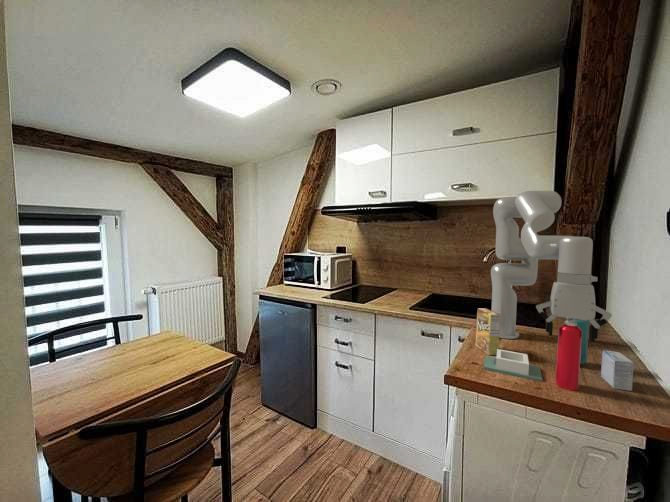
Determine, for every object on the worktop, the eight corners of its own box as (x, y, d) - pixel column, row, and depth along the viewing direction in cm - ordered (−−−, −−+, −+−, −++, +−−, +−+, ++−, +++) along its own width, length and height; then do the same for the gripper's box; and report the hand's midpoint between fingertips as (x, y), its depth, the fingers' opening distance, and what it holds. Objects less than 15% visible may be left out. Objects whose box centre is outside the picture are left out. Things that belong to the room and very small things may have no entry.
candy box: (474, 346, 118) (476, 308, 117) (484, 345, 119) (486, 307, 118) (488, 355, 109) (490, 314, 108) (499, 355, 110) (501, 314, 109)
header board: (485, 358, 107) (485, 346, 107) (539, 368, 99) (539, 356, 99) (483, 369, 98) (484, 356, 98) (542, 381, 90) (543, 367, 90)
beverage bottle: (587, 363, 103) (591, 306, 102) (586, 370, 99) (590, 310, 97) (563, 357, 108) (567, 303, 106) (561, 363, 103) (565, 306, 102)
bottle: (571, 392, 85) (576, 322, 83) (551, 383, 90) (555, 317, 88) (582, 387, 87) (587, 320, 86) (561, 379, 92) (565, 315, 91)
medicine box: (632, 392, 85) (634, 362, 85) (612, 388, 87) (614, 359, 86) (618, 379, 93) (620, 352, 92) (600, 376, 94) (602, 349, 94)
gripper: (609, 280, 85) (605, 339, 86) (536, 275, 94) (533, 329, 95) (617, 283, 79) (613, 347, 80) (538, 278, 87) (535, 336, 88)
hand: (570, 337), depth 87 cm, fingers open, 9 cm apart
